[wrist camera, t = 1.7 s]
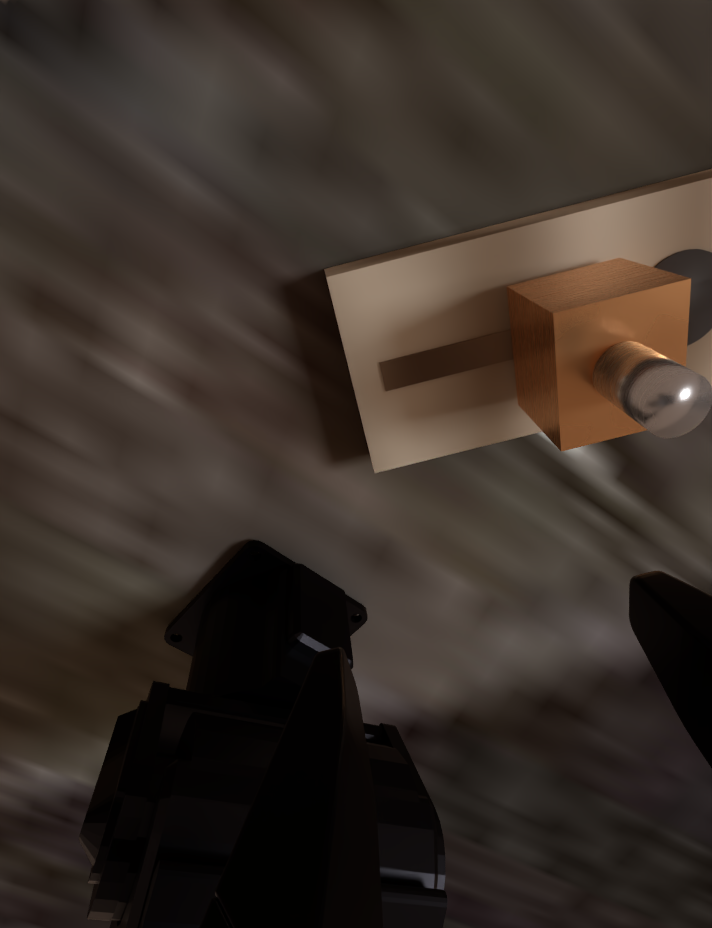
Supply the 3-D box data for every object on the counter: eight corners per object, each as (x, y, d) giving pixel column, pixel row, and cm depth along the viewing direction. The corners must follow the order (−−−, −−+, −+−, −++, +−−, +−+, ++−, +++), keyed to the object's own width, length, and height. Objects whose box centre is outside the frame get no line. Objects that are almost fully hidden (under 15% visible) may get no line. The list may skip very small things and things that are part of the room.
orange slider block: (518, 404, 19) (603, 497, 14) (506, 286, 17) (601, 341, 12) (619, 379, 19) (745, 462, 14) (619, 257, 17) (765, 299, 12)
